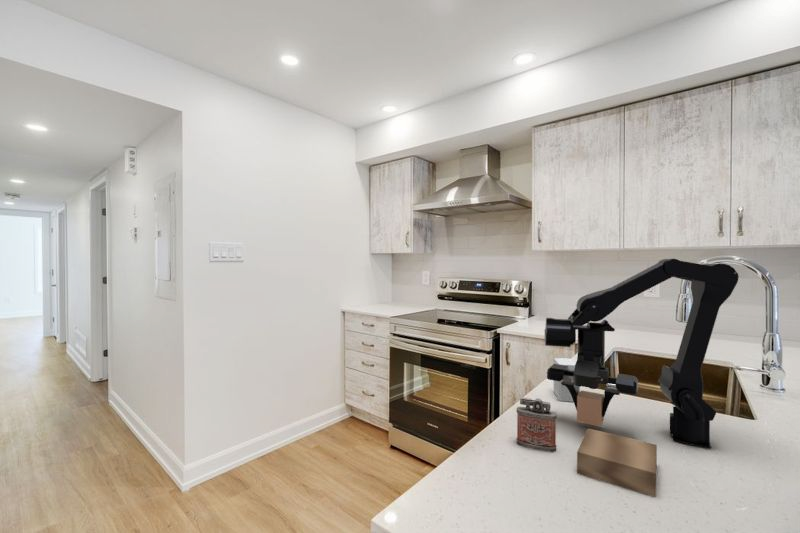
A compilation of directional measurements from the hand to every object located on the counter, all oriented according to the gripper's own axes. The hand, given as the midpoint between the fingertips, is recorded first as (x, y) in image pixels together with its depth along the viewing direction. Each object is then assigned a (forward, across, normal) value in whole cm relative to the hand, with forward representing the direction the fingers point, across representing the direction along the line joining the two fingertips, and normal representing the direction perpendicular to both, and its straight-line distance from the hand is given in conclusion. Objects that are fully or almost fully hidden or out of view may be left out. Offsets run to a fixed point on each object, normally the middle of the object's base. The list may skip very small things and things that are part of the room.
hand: (590, 413), depth 88 cm
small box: (+3, -9, +18) cm, 20 cm away
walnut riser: (+3, +7, -17) cm, 19 cm away
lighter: (+3, -8, -17) cm, 19 cm away
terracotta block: (+2, 0, 0) cm, 2 cm away
